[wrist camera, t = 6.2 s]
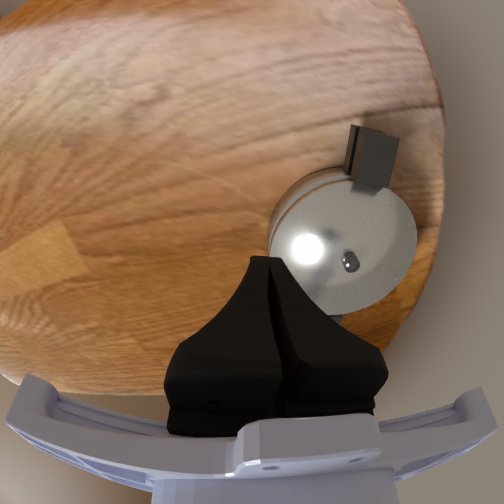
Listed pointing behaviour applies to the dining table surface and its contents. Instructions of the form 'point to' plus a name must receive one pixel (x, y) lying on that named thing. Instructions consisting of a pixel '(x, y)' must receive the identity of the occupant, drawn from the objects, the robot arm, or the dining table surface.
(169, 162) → the dining table surface
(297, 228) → the lid
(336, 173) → the pot
